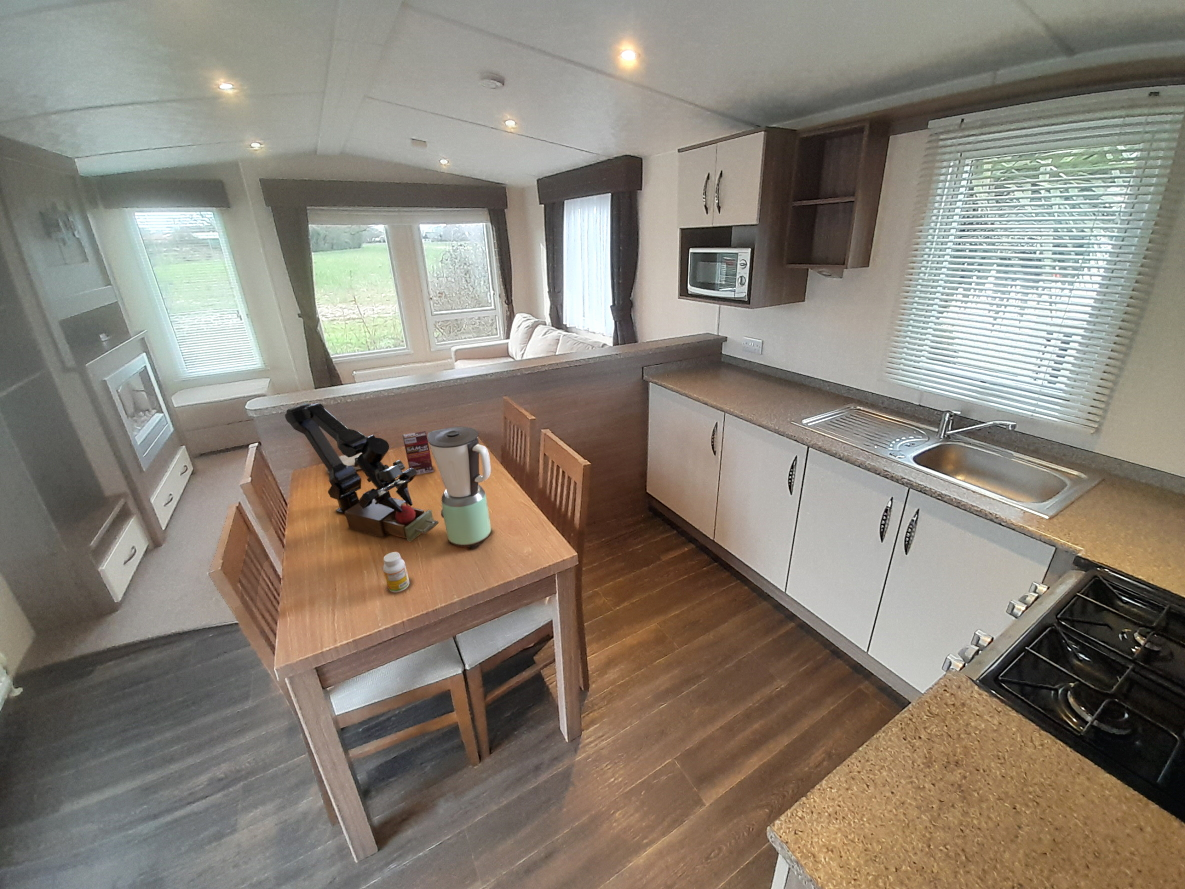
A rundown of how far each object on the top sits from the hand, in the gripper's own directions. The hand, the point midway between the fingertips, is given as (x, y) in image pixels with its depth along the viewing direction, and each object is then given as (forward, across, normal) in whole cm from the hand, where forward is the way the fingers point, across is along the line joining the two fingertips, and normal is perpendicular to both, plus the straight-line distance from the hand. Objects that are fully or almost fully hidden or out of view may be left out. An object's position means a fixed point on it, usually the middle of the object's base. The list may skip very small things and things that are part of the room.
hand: (406, 508), depth 146 cm
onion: (+4, 0, +6) cm, 7 cm away
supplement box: (-14, +30, +26) cm, 42 cm away
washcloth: (-35, +22, +48) cm, 63 cm away
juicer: (+20, +6, -8) cm, 22 cm away
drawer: (+5, 0, +6) cm, 8 cm away
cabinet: (-3, -1, +15) cm, 16 cm away
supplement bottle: (+18, -19, -6) cm, 27 cm away
